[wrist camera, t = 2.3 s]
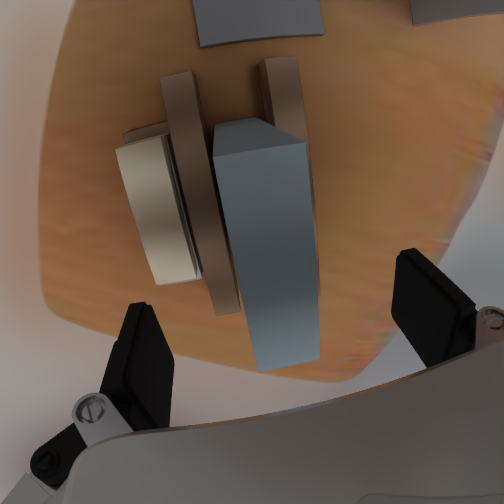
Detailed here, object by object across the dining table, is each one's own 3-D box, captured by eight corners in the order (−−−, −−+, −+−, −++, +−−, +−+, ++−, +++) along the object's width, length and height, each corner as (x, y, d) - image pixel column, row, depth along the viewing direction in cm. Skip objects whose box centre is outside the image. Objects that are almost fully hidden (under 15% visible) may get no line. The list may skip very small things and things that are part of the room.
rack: (168, 81, 20) (159, 78, 16) (283, 62, 20) (296, 55, 17) (215, 288, 28) (216, 316, 25) (307, 270, 29) (320, 295, 25)
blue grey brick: (215, 123, 22) (212, 157, 10) (255, 117, 22) (305, 142, 10) (237, 243, 27) (258, 372, 14) (272, 236, 27) (319, 359, 14)
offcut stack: (128, 131, 21) (108, 140, 17) (172, 119, 21) (162, 125, 17) (166, 267, 27) (158, 300, 23) (205, 260, 27) (204, 292, 23)
